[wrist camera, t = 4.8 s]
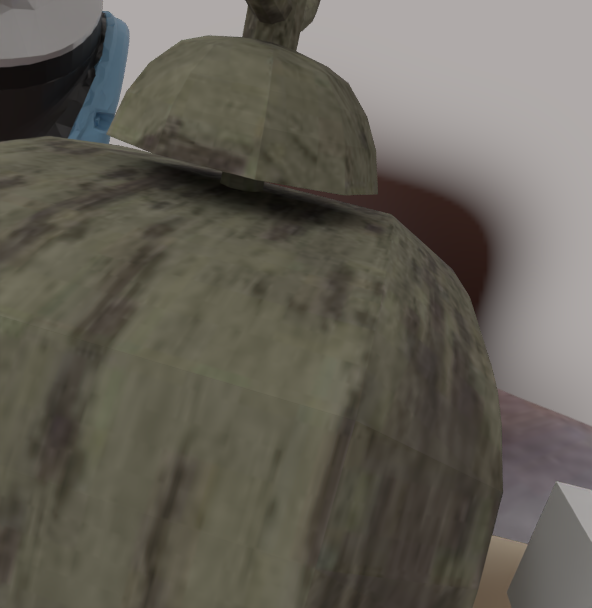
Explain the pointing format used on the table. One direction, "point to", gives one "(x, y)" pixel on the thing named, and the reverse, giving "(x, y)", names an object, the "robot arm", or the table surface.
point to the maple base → (499, 572)
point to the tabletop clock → (234, 355)
